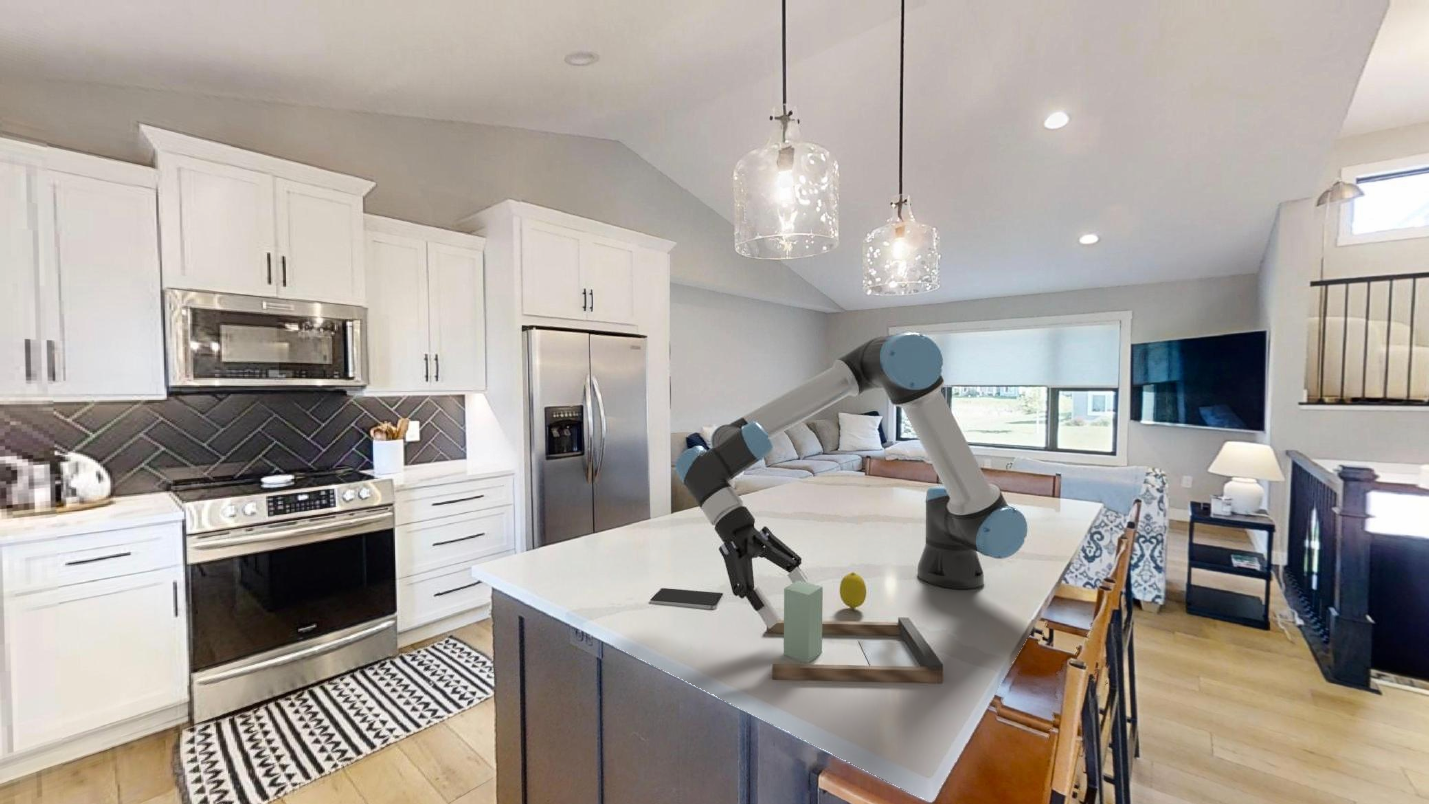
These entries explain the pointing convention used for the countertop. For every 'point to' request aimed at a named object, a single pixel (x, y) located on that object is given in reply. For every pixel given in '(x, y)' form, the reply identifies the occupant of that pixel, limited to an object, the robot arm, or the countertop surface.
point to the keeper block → (803, 621)
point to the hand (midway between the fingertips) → (795, 611)
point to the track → (872, 655)
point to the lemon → (853, 590)
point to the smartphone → (687, 598)
